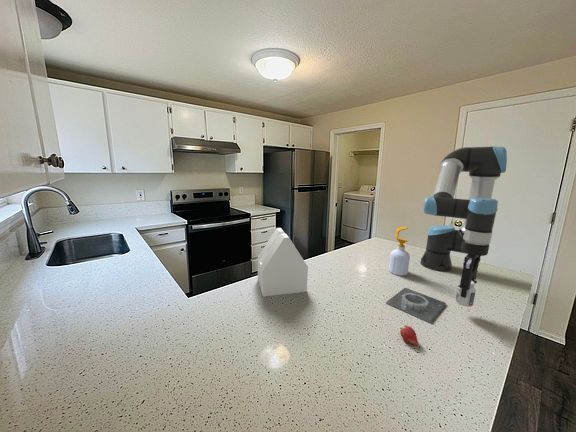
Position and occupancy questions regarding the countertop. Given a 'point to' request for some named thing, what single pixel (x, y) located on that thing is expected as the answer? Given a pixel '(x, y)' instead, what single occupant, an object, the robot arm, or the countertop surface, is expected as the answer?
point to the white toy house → (281, 267)
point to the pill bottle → (471, 295)
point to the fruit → (409, 335)
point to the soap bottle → (399, 257)
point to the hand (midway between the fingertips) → (464, 301)
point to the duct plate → (419, 314)
